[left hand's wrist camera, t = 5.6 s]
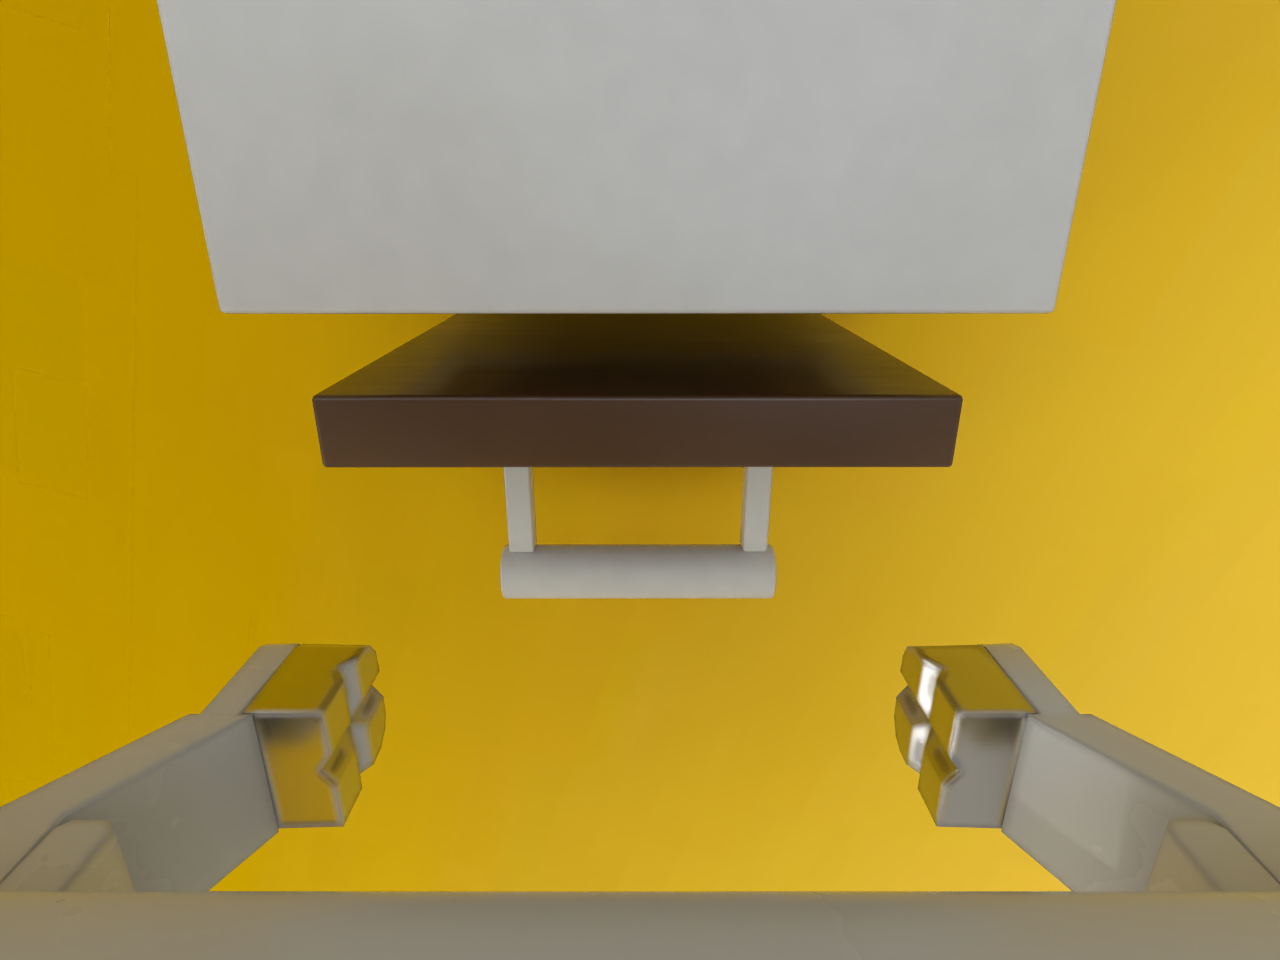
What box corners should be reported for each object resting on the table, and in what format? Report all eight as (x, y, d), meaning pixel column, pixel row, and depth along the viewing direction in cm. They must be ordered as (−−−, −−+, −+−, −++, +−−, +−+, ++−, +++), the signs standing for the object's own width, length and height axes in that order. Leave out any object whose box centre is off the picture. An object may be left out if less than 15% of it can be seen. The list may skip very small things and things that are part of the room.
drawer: (799, 520, 23) (909, 733, 13) (477, 520, 23) (365, 733, 13) (892, -559, 14) (1349, -1943, 5) (382, -560, 14) (-82, -1947, 5)
